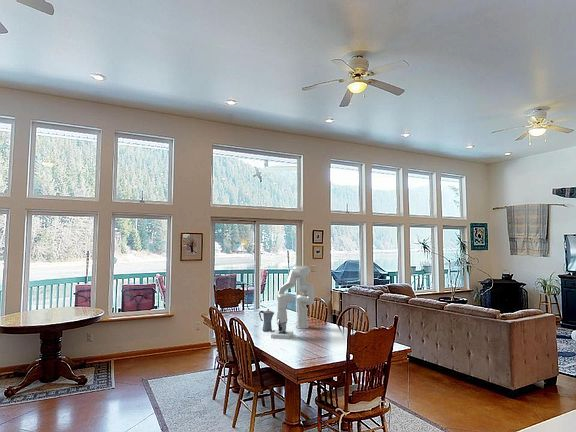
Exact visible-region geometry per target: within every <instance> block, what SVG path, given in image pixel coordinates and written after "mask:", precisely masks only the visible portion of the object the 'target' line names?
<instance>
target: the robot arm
mask: <svg viewBox="0 0 576 432" xmlns="http://www.w3.org/2000/svg"><path fill="white" fill-rule="evenodd" d="M310 273H311V269H310V267H309V266H308V265H293V268H292V269H290V271H289V273H288V276H287V280H286V282H285V283H283V284H282V286H281V287H280V288H279V290H278V292H277V295H276V299H277V313H276V324H277V327H278V330H279V331H282V326H281V325H282V323H284V322H286V324H287V323H288V311H287V304H288V303H292V302H293V299H294V297H293V295H292V294H289V293H285V292H287V291H288V290H290V289H292V288H294V287H295V286H296V283H297V292H299V293H300V294H297V295H296V297H295V300H296V306H297V307H296V308H297V310H296V311H297V318H296V319H297V325H295V328H297V329H308V328H310V326H309V324H308V307H307V306H306V305H309V306H311V305H313V304H314V302H315V288H314V284H313V283H309V282H307V276H309V274H310ZM280 323H281V324H280Z"/></svg>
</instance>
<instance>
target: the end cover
mask: <svg viewBox="0 0 576 432" xmlns="http://www.w3.org/2000/svg"><path fill="white" fill-rule="evenodd" d="M280 324H281V323H280ZM281 326H282V331H279V334H285V333H286V331H287V323H286V322H284V323H282V325H281Z"/></svg>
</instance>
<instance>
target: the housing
mask: <svg viewBox="0 0 576 432" xmlns="http://www.w3.org/2000/svg"><path fill="white" fill-rule="evenodd" d="M293 336H294V331H293V330H286V333H285V334H279V329H276V330H274V332H273V333H271V334H270V338H271V339H280V340H281V339H283V340H289V339H291V338H292V337H293Z"/></svg>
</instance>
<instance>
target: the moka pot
mask: <svg viewBox="0 0 576 432" xmlns="http://www.w3.org/2000/svg"><path fill="white" fill-rule="evenodd" d="M262 315H263V319H262ZM274 315H275V312H274V311H272V310H270V309H269V308H267V310H259V313H258V316H259V318H260V321H262V322H263V326H262V331H263V332H272V331H273V329H272V320H273V316H274Z"/></svg>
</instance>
